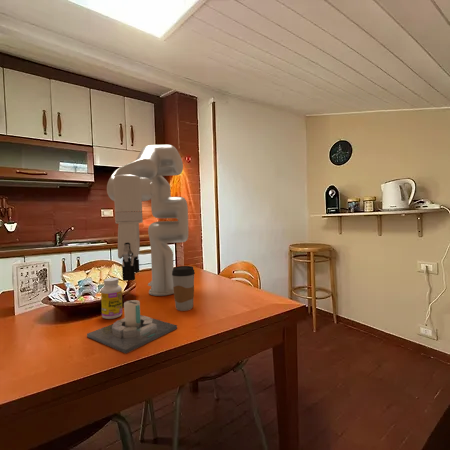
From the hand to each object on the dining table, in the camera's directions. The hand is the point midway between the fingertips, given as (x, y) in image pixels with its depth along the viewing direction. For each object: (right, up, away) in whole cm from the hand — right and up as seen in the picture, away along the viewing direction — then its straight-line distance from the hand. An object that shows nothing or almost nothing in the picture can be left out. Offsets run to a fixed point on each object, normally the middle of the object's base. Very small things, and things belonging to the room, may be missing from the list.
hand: (131, 276), depth 83 cm
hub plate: (0, -17, 0) cm, 17 cm away
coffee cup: (+12, -16, +21) cm, 29 cm away
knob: (0, -16, 0) cm, 16 cm away
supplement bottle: (-12, -17, +15) cm, 25 cm away
